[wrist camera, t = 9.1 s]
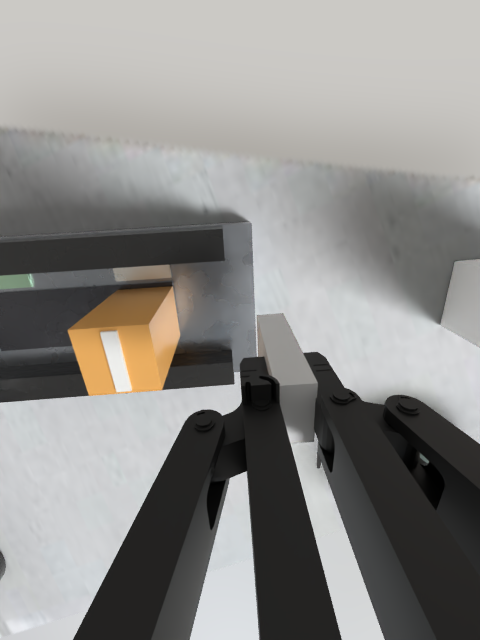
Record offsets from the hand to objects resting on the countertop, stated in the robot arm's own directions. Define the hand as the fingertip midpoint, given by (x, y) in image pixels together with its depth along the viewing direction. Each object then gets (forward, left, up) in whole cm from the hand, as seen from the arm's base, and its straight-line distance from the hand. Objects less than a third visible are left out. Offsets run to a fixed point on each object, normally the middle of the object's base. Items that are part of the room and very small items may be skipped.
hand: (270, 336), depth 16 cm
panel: (-12, 0, -8) cm, 15 cm away
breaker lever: (-8, 0, -6) cm, 10 cm away
